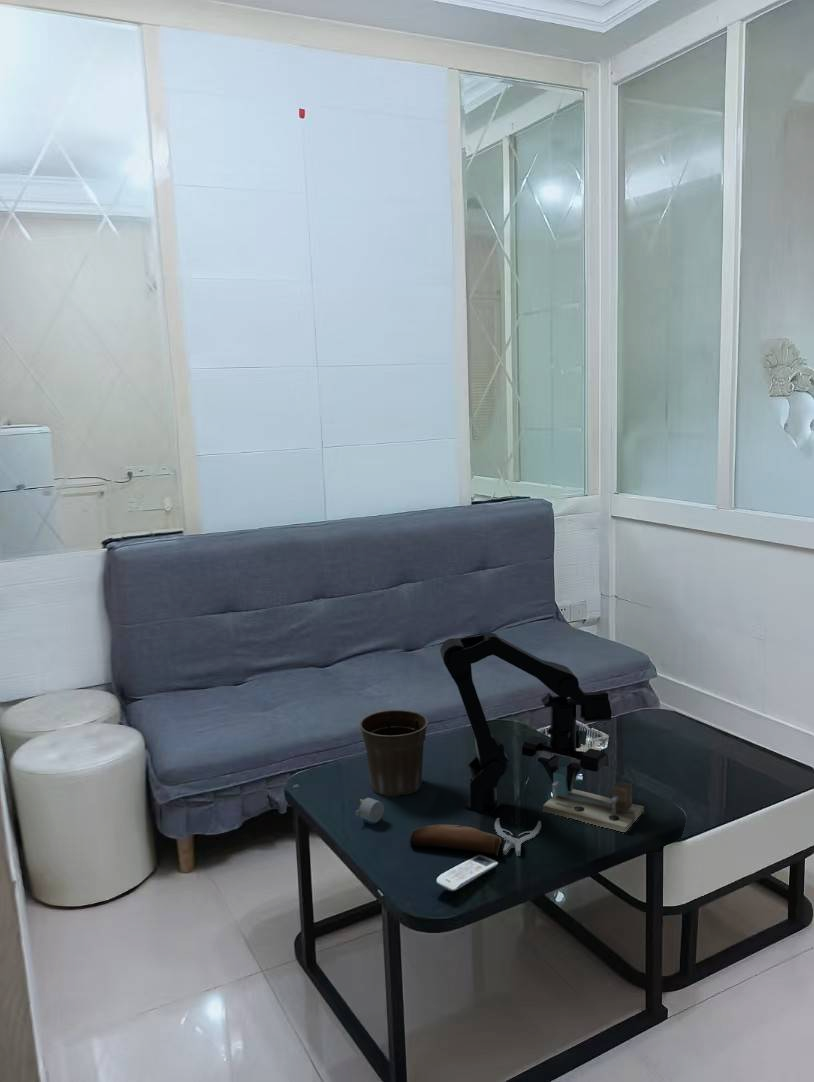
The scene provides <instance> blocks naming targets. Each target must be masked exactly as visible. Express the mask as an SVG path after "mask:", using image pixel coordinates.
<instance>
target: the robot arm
mask: <svg viewBox="0 0 814 1082" xmlns="http://www.w3.org/2000/svg"><path fill="white" fill-rule="evenodd" d="M439 651H440V656H441V658H442V661H443V663H444V666H445V667H446V670H447V671H448V673H449V674H450V676H451V677H452V679H453V681H454V683H455V685H456V687H457V690H458V693H459V696H460V698H461V701H462V704H463V706H464V709H465V713H466V716H467V718H468V721H469V723H470V724H469V725H470V727H471V729H472V732H473V736H474V745H475V753H476V756H475V757H474V758H472V760H471V761H470V762H469V763H468V764H467V767H468V770H469V774H470V776H471V778H470V783H469V788H470V789H469V791H470V793H469V794H470V800H469V801H468V802H467V803H466V804H464V808H465V809H467V810H472V811H475V812H479V813H482V814H485V815H491V814H492V813H493V812H494V811H495V810H497V809H498V808H500V806H502V805H503V804H504V803H503V800H500V799H497V797H498V795H497V794H498V792H497V791H498V790H497V789H498V787H497V786H498V785H499V782H500V779H501V777H502V776H503V775H504V774H505V773H506V771H507V769H508V765H507V762H509V758H508V756H507V753H506V751H505V748H504V744H503V742H502V739H501V737H500V734H496V735H494V736H493V734H492V733H491V731H490V728H489V725H488V721H487V719H486V716H485V713H484V711H483V707H482V704H481V702H480V698H479V696H478V693H477V690H476V687H475V684H474V680H473V672H472V664H475V663H478V662H480V661H481V660H483V659H486V658H487V657H490V656H496V658H499V659H501V661H504V662H507V663H508V664H510V665H512V666H514V667H516V668H518V669H520V670H521V671H523V672H525V673H527V674H529V675H530V676H533V677H535V679H537V680H539V681H540V682H541V683H542V684H543V685H544V686H545V687H546V688H548V689H549V690H550V691H551V692H553V693H554V694H555V695H552V694H551V693H550V692H547V694H546V695H545V696H543V698H541V699H540V702H541V703H542V704H543V707H545V708H547V707H549V709H550V711H549V713H550V719H549V720H550V721H549V722H550V724H549V725H550V727H549V728H548V729H547V734H548V735H550V737H549V738H550V743H549V744H548V740H547V739H546V738H544V737H540V736H535V735H531V736H530V737H529V738H527V739H526V740H525V741H523V742H522V743H521V745H520V755H522V756H525V757H526V756H527V757H531V758H532V757H534V756H535V755H537V752H538V755H539V757H538V758H537V762H539V763H541V765H542V766H543V768H544V770H545V772H546V773H547V775H548V778H549V779H550V781H551V784H553V772H555V771H556V770H557V769H558V768H559V758H560V757H562V758H565V759H566V758H567V759H570V760H571V762H570V763H568V765H567V766H566V768H567V786H568V791H571V790H572V788H573V789H574V786H575V783H576V780H577V777H578V774H579V772H580V771H581V770H582V769H583V770H587V771H589V772H590V771H591V772H599V771H600V770H601V769H602V768H603V767H604V766H605V765H607V763H608V755H607V754H606V752H605V750H599V749H596V748H590V747H589V748H588V750H586V751H582V750H577V749H580V748H582V745H583V746H586V745H587V744H586V742H587V736H588V731H586V730H582V729H580V727H579V725H578V724H577V717H578V719H581V720H582V722H583V723H601V722H602V723H603V722H606V723H607V722H610V721H611V720H612V715H613V714H612V713H613V712H612V711H613V709H611V708H612V707H611V703H610V702H611V701H610V699H609V693H608V692H607V690H598V691H589V692H587V691H586V692H584V690H582V688H581V687H580V685H579V684H580V683H579V679H578V677H577V676H576V675H575V674H574V673H573V671H572V670H571V669H570V668H569V667H567V666H565V665H563V664H560V663H557V662H553V661H548V660H543V659H542V658H539V657H537V656H536V655H533V654H532V653H529V652H528V651H526V650H524V649H522V648H520V647H519V646H517V645H514V644H513V643H511V642H509V641H507V640H506V639H503V638H501V637H500V636H499V635H498V634H496V633H495V632H487V633H485V634H484V633H483V634H481V635H480V634H479V635H473V636H465V637H462V638H454V637H453V638H452V637H451V638H448V639H446V640H445V641H443V643H442V645H441V647H440V648H439Z"/></svg>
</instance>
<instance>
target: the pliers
mask: <svg viewBox="0 0 814 1082" xmlns="http://www.w3.org/2000/svg"><path fill="white" fill-rule="evenodd" d="M499 820H501V819H500V817H497V818H496V819H495V821H494V830H496V831H495V833H496V832H497V833H496V835H497V836H498V835H499V836H501V837H502V838H504V839H503V840H504V841H505V840H506V841H505V843H504V846H503V849H502V855H503V854H504V855H506V854H507V853H508V852H509V853H510V851H511V850H512V849H511V848H515V849H514V850H515V854H516V856H520V857H521V854H522V853H521V852H522V851H521V850H522V845H523V844H524V843H526V842H528V841H530V839H531V840H533V839H534V838H536V837H537V836H538V835H539V833H540V832H539V831H541V830H540V829H542V821H541V820H538V821H537V824H536V826H535V827H534V829H533V830H528V831H524V832H521V833H519V834H518V835H517V837H518V836H520V835H522V834H524V833H530V834H524V835H522V836H520V837H519V838H517V837H514V834H513V833H512V832H511V831H510V830H507V829H505V828H502V826H501V824H500V822H501V821H499ZM503 831H506V832H503ZM507 832H509V833H510V834H511V835H513V836H511V835H510V834H509V833H507ZM508 834H509V835H508ZM537 834H538V835H537ZM536 835H537V836H536ZM499 836H498V837H499ZM501 837H500V838H501ZM502 838H501V839H502ZM532 838H533V839H532ZM527 840H528V841H527ZM525 841H526V842H525ZM523 842H524V843H523ZM522 843H523V844H522ZM521 844H522V845H521ZM510 849H511V850H510ZM509 850H510V851H509ZM509 853H508V854H509ZM508 854H507V855H508ZM504 855H503V856H504ZM507 855H506V856H507Z"/></svg>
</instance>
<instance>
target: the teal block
mask: <svg viewBox="0 0 814 1082" xmlns="http://www.w3.org/2000/svg"><path fill="white" fill-rule="evenodd" d="M551 788H552V797H553V800H556V794H557V795H561V796H565V797H566V796H567V795H568V794H569V793H570V792H571V791H572V790H573V789H574V787H573V788H572V790H571V791H568V786H567V766H562V765H561V766H558V769H557V770H556V771H555V772H553V783H551Z"/></svg>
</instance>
